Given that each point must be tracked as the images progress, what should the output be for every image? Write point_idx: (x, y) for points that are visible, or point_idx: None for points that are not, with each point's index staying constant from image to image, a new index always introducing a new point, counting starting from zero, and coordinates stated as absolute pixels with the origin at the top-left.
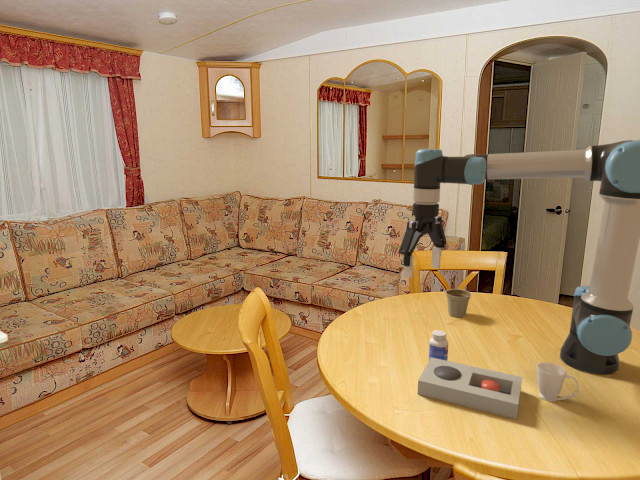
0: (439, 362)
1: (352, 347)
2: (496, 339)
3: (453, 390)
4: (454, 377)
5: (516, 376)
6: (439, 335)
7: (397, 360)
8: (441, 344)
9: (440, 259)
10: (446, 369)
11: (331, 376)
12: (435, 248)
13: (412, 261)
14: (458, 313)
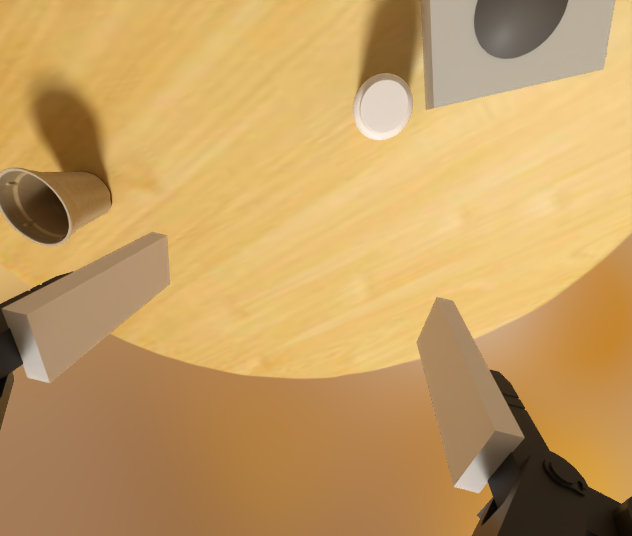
0: (455, 68)
1: (412, 308)
2: (135, 26)
3: None
4: None
5: None
6: (406, 95)
7: (419, 203)
8: (406, 86)
9: (105, 256)
10: (501, 19)
11: (563, 283)
12: (48, 350)
13: (486, 383)
14: (96, 184)
